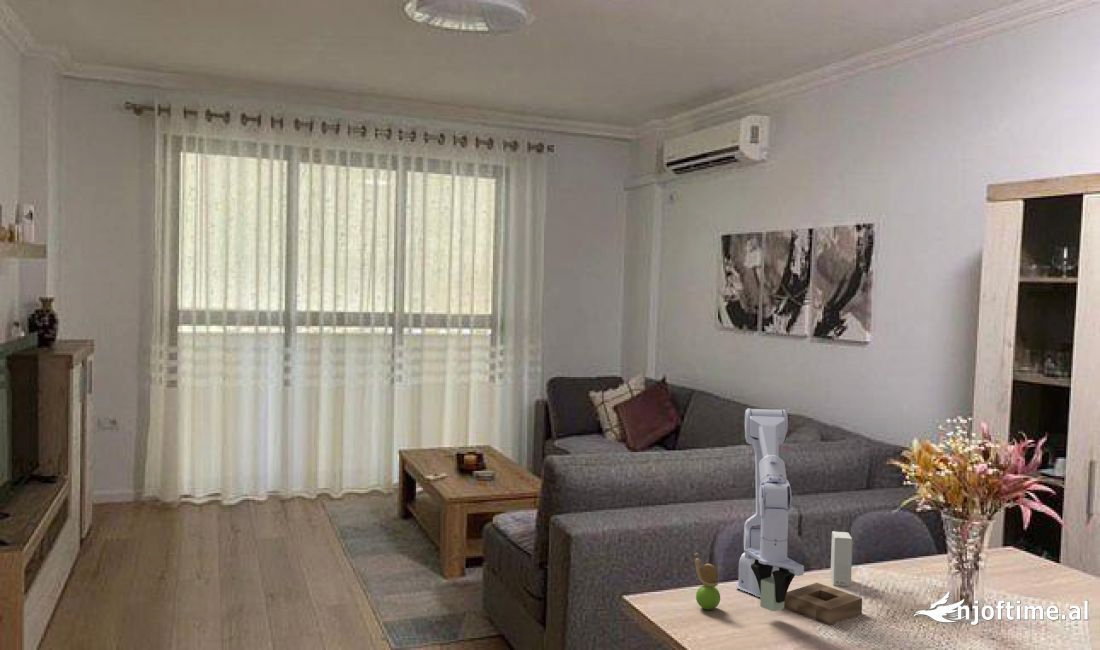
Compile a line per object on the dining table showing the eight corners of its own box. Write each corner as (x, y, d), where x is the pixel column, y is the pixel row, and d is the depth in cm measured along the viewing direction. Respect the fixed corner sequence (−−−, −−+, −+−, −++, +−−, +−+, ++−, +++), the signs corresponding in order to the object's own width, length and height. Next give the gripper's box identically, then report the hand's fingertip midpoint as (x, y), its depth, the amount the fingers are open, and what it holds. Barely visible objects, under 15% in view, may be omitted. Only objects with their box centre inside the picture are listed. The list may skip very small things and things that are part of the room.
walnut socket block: (784, 607, 187) (784, 592, 186) (816, 597, 194) (816, 582, 194) (829, 625, 177) (829, 609, 177) (861, 613, 184) (862, 598, 184)
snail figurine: (701, 601, 190) (702, 550, 190) (724, 609, 185) (725, 556, 185) (687, 607, 186) (688, 555, 186) (711, 615, 182) (712, 562, 181)
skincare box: (851, 587, 201) (852, 538, 200) (833, 585, 202) (834, 537, 201) (847, 578, 207) (848, 532, 206) (830, 577, 208) (831, 530, 207)
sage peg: (760, 606, 180) (760, 579, 180) (770, 603, 182) (771, 576, 182) (773, 611, 177) (774, 584, 177) (784, 608, 179) (784, 581, 179)
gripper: (736, 532, 182) (734, 592, 183) (789, 549, 171) (788, 613, 171) (756, 527, 186) (755, 586, 187) (810, 543, 175) (809, 606, 175)
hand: (772, 598), depth 179 cm, fingers closed on sage peg, 4 cm apart
